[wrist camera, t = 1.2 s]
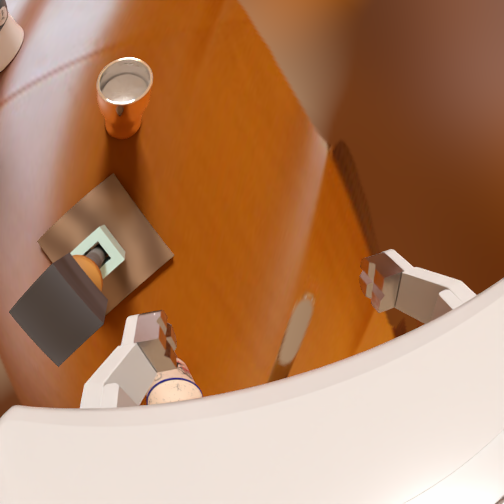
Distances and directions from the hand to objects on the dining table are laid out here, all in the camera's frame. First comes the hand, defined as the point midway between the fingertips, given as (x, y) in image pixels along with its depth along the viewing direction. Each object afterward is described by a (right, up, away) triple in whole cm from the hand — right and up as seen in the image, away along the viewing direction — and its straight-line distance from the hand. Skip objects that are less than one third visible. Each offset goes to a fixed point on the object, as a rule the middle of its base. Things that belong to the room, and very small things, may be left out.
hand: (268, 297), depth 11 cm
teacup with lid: (-17, -19, +34) cm, 42 cm away
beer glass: (-21, +22, +26) cm, 41 cm away
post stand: (-23, +2, +28) cm, 36 cm away
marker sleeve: (-22, +2, +25) cm, 34 cm away
